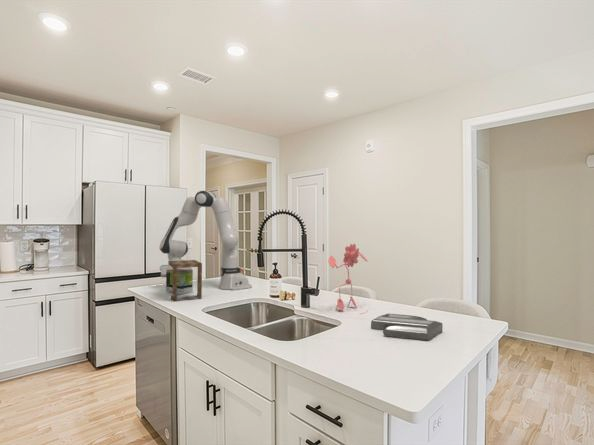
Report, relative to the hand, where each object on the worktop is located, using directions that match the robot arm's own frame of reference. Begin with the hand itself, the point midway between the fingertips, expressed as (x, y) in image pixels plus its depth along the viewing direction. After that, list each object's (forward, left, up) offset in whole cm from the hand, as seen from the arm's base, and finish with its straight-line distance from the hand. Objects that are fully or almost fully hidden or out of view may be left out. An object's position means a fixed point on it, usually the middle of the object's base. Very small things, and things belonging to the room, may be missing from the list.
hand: (177, 280), depth 223 cm
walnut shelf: (0, +24, -6) cm, 25 cm away
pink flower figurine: (-71, +96, -6) cm, 120 cm away
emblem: (-72, +132, -6) cm, 151 cm away
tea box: (0, +9, -6) cm, 11 cm away
